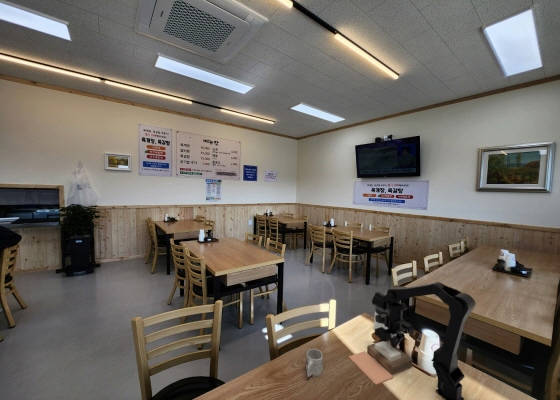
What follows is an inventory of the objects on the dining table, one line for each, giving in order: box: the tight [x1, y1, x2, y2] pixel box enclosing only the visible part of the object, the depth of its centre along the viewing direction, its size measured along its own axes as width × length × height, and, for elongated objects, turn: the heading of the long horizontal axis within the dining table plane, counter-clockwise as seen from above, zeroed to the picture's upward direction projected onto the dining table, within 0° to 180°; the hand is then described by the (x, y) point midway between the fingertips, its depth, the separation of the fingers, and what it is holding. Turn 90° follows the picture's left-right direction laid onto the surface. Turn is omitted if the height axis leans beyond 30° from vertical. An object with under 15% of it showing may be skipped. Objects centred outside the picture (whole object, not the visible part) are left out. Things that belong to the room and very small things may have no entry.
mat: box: [348, 350, 394, 386], centre depth 98 cm, size 16×10×1 cm, turn 24°
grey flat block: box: [375, 340, 401, 362], centre depth 102 cm, size 9×6×2 cm, turn 23°
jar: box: [373, 306, 388, 330], centre depth 126 cm, size 9×8×12 cm
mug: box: [305, 348, 323, 378], centre depth 95 cm, size 10×7×7 cm, turn 149°
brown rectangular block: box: [366, 340, 413, 376], centre depth 103 cm, size 14×12×4 cm
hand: (393, 348), depth 104 cm, fingers closed
